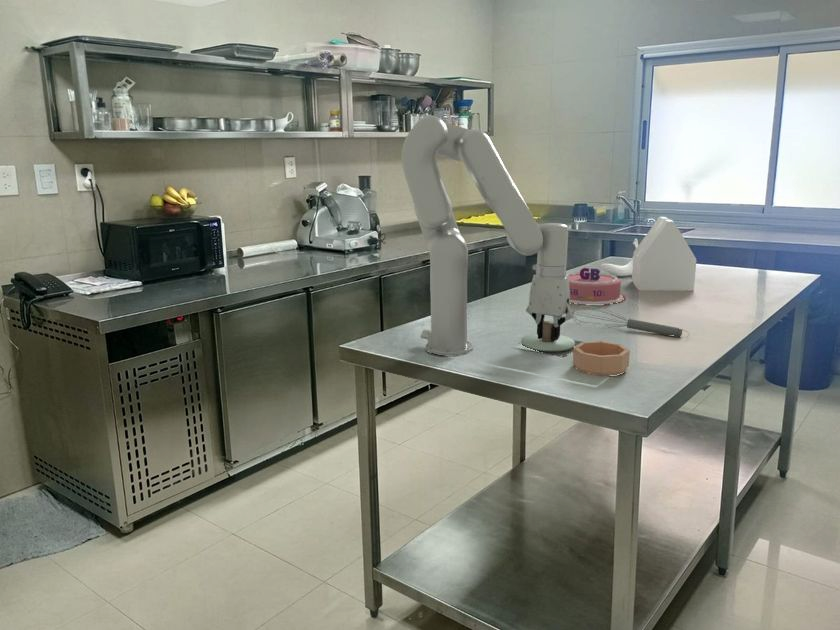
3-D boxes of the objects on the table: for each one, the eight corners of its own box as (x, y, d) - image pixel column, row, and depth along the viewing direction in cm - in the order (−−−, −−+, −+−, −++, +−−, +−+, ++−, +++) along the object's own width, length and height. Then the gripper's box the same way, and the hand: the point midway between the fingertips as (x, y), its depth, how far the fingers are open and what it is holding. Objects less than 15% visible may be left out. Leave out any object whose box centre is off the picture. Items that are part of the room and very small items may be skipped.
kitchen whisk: (686, 341, 181) (688, 319, 179) (568, 326, 199) (568, 305, 197) (691, 336, 186) (693, 314, 184) (575, 321, 204) (576, 301, 202)
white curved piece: (599, 277, 267) (601, 240, 264) (637, 272, 274) (639, 237, 271) (607, 279, 263) (608, 242, 259) (645, 274, 270) (647, 238, 266)
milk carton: (683, 282, 255) (688, 216, 249) (693, 290, 240) (699, 221, 234) (631, 281, 258) (635, 216, 252) (638, 290, 243) (642, 221, 237)
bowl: (566, 371, 159) (567, 351, 158) (586, 357, 168) (587, 338, 167) (615, 380, 152) (616, 359, 151) (633, 366, 161) (634, 346, 160)
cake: (543, 302, 228) (544, 272, 225) (562, 288, 250) (563, 260, 247) (618, 309, 217) (620, 277, 215) (631, 293, 239) (633, 264, 236)
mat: (511, 348, 177) (511, 347, 177) (537, 335, 188) (537, 334, 188) (564, 358, 168) (564, 357, 168) (587, 343, 180) (587, 342, 180)
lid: (511, 345, 177) (512, 324, 175) (536, 333, 187) (537, 313, 186) (560, 354, 168) (561, 332, 167) (583, 342, 179) (584, 321, 178)
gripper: (516, 269, 175) (513, 337, 179) (575, 277, 165) (570, 347, 170) (529, 265, 181) (527, 331, 185) (587, 272, 171) (582, 341, 176)
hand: (548, 338), depth 178 cm, fingers closed on lid, 3 cm apart
